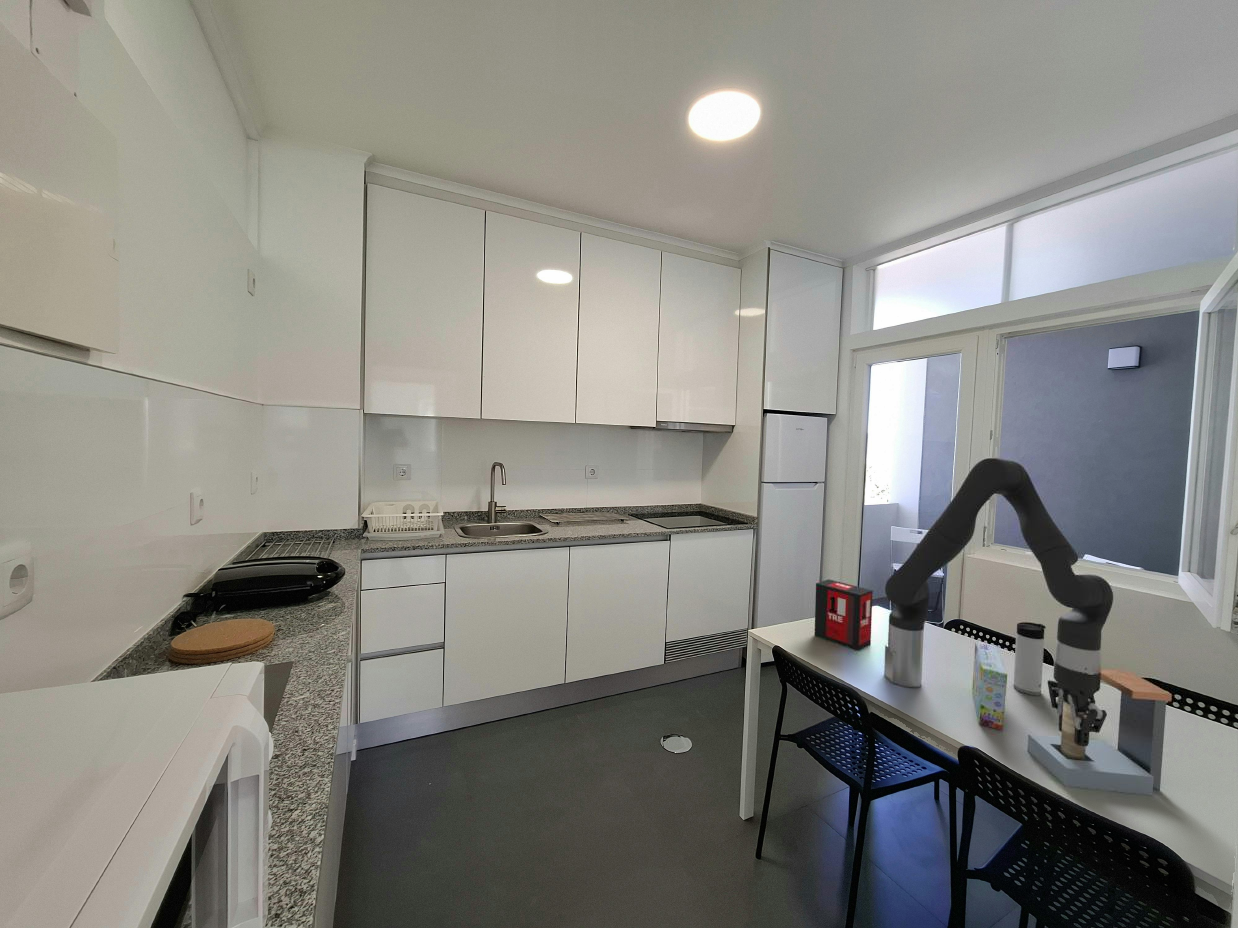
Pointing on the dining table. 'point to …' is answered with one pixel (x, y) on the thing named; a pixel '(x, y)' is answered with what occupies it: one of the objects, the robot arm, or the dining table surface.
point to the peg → (1070, 736)
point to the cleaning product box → (843, 614)
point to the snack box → (989, 685)
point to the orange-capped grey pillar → (1140, 720)
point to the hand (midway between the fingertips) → (1073, 738)
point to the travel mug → (1029, 658)
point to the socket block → (1091, 766)
